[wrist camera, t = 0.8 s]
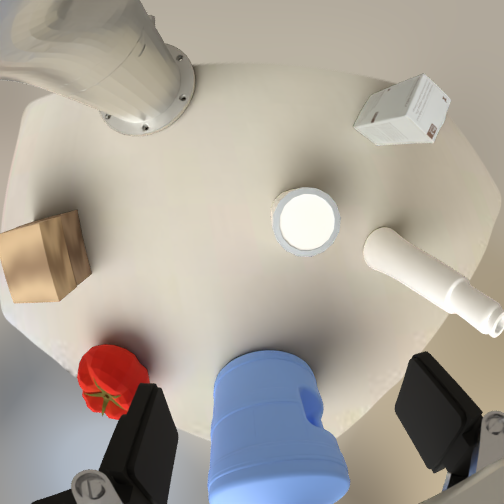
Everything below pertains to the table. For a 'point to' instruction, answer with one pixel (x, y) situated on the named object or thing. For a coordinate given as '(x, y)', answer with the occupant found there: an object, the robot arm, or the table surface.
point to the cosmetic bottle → (432, 280)
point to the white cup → (305, 221)
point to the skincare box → (404, 113)
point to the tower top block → (37, 262)
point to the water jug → (272, 435)
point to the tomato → (110, 379)
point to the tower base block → (74, 244)
